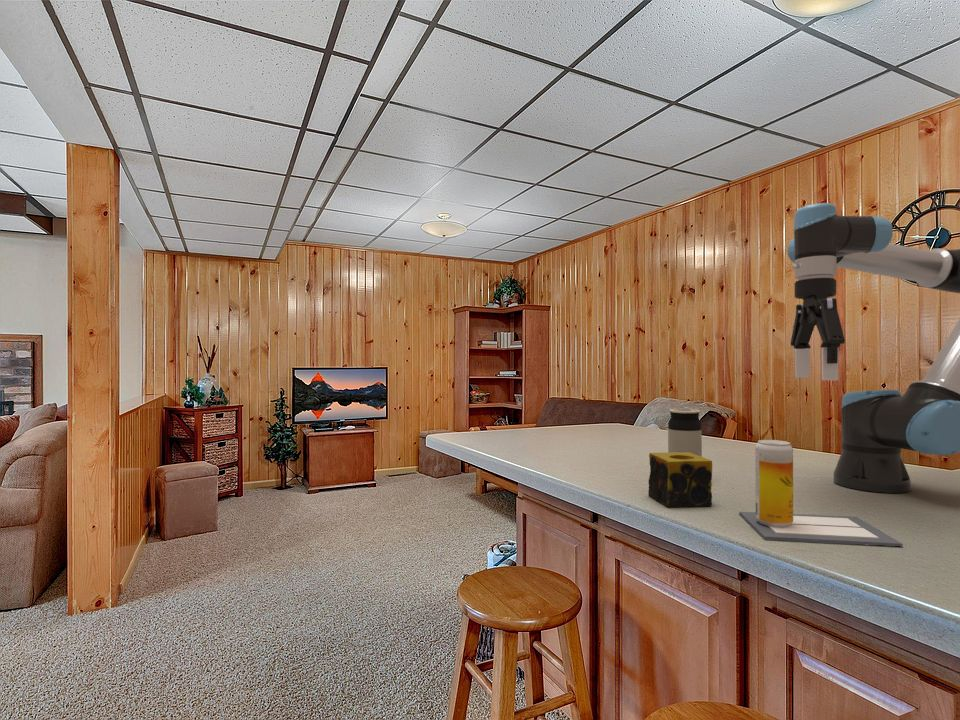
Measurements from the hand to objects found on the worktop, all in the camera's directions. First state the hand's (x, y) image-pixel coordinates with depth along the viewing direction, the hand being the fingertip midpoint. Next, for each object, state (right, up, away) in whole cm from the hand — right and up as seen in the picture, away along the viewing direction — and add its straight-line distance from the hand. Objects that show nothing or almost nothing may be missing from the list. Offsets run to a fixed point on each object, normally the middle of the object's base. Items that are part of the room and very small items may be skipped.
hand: (815, 379), depth 113 cm
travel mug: (-19, -27, +23) cm, 40 cm away
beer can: (-17, -26, -15) cm, 35 cm away
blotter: (-11, -27, -16) cm, 33 cm away
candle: (-28, -27, +3) cm, 39 cm away
